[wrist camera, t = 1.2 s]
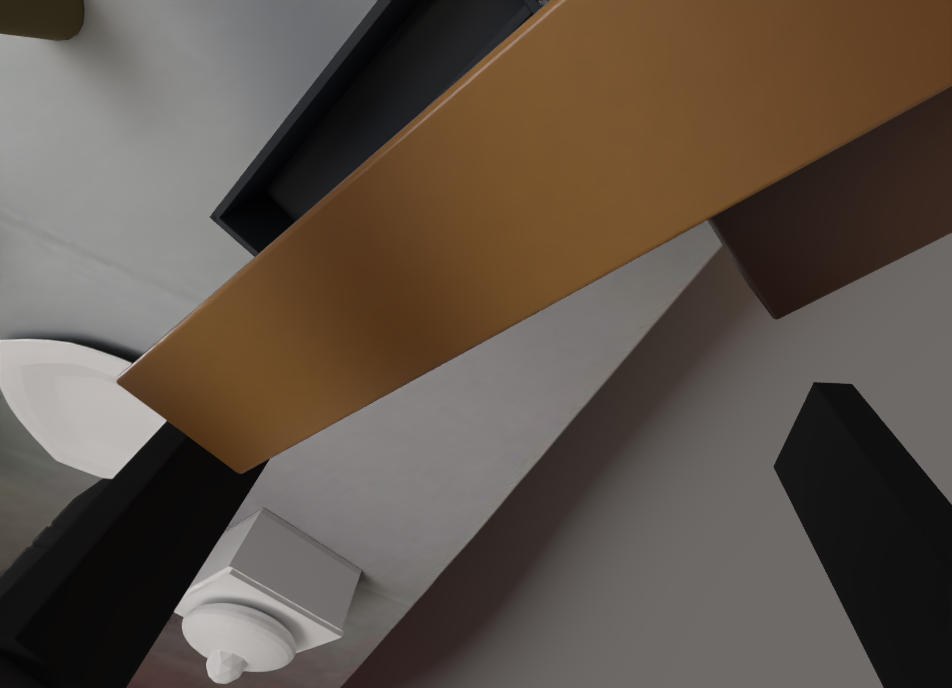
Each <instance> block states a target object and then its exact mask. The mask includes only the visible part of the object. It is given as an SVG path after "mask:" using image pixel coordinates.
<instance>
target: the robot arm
mask: <svg viewBox="0 0 952 688" xmlns="http://www.w3.org/2000/svg"><path fill="white" fill-rule="evenodd" d="M268 461H269V459H268V460H266V461H265V462H263V463H261V464H259V465H257V466H255V467H254V468H252V469H250V470H248V471H246V472H244V473H243V474H240V473H237V472H236V471H234V470H233V469H232V468H230V467H229V466H228V465H226V464H225V463H223V462H222V461H221V460H219V459H218V458H217V457H215V456H214V455H213V454H211V453H210V452H209V451H207V450H206V449H205V448H203V447H202V446H201V445H199V444H198V443H196V442H195V441H194V440H192V439H191V438H190V437H188V436H187V435H186V434H184V433H183V432H182V431H180V430H179V429H178V428H176V427H175V426H174V425H172V424H171V423H170V422H168V421H166V422H165V423H164V424H163V425H162V427H161V428H160V429H159V430H158V431H157V432H156V433H155V434H154V435H153V436H152V437H151V438H150V439H149V440H148V441H147V442H146V443H145V445H144V446H143V447H142V448H141V449H140V450H139V451H138V452H137V453H136V454H135V455H134V456H133V457H132V458H131V459H130V460H129V462H128V463H127V464H126V465H125V466H124V467H123V468H122V469H121V470H120V471H119V472H118V473H117V474H116V475H115V476H114V477H113V479H109V478H103V479H102V480H100V481H99V482H97V483H96V484H95V485H93V486H92V487H90V488H89V489H87V490H86V491H84V492H83V493H81V494H80V495H78V496H77V497H76V498H74V499H73V500H72V501H71V502H70V503H69V504H68V505H67V507H66V508H65V509H64V510H63V511H62V512H61V513H60V514H59V515H58V516H57V517H56V518H55V519H54V520H53V521H52V525H51V526H50V527H46V528H45V529H44V530H43V531H42V532H41V533H40V534H39V535H38V536H37V537H36V538H35V539H34V540H33V541H32V545H31V546H30V547H26V548H25V549H24V550H23V551H22V552H21V553H20V554H19V555H18V556H17V557H16V558H15V559H14V560H13V561H12V563H11V564H10V565H9V566H8V567H7V568H6V569H5V570H4V571H3V572H2V573H1V574H0V688H126V687H127V685H128V684H129V682H130V681H131V679H132V677H133V676H134V674H135V673H136V671H137V669H138V668H139V666H140V665H141V663H142V661H143V660H144V658H145V657H146V655H147V653H148V652H149V650H150V649H151V647H152V646H153V644H154V642H155V641H156V639H157V638H158V636H159V634H160V633H161V631H162V630H163V628H164V626H165V625H166V623H167V622H168V620H169V618H170V617H171V615H172V614H173V612H174V611H175V609H176V607H177V606H178V604H179V603H180V601H181V599H182V598H183V596H184V595H185V593H186V591H187V590H188V588H189V587H190V585H191V583H192V582H193V580H194V579H195V577H196V576H197V574H198V572H199V571H200V569H201V568H202V566H203V564H204V563H205V561H206V560H207V558H208V556H209V555H210V553H211V552H212V550H213V548H214V547H215V545H216V544H217V542H218V541H219V539H220V537H221V536H222V534H223V533H224V531H225V529H226V528H227V526H228V525H229V523H230V521H231V520H232V518H233V517H234V515H235V513H236V512H237V510H238V509H239V507H240V506H241V504H242V502H243V501H244V499H245V498H246V496H247V494H248V493H249V491H250V490H251V488H252V486H253V485H254V483H255V482H256V480H257V479H258V477H259V475H260V474H261V472H262V471H263V469H264V467H265V466H266V464H267V463H268ZM774 469H775V471H776V473H777V475H778V477H779V479H780V481H781V483H782V485H783V487H784V489H785V491H786V493H787V495H788V497H789V499H790V501H791V503H792V505H793V507H794V509H795V511H796V513H797V515H798V517H799V519H800V521H801V523H802V525H803V527H804V529H805V531H806V533H807V535H808V537H809V539H810V541H811V543H812V545H813V547H814V549H815V551H816V553H817V555H818V557H819V559H820V561H821V563H822V565H823V567H824V569H825V571H826V573H827V575H828V577H829V579H830V581H831V583H832V585H833V587H834V589H835V591H836V593H837V595H838V597H839V599H840V601H841V603H842V605H843V607H844V609H845V611H846V613H847V615H848V617H849V619H850V621H851V623H852V625H853V627H854V629H855V631H856V633H857V635H858V637H859V639H860V641H861V643H862V645H863V647H864V649H865V651H866V653H867V655H868V657H869V659H870V661H871V663H872V665H873V667H874V669H875V671H876V673H877V675H878V677H879V679H880V681H881V683H882V685H883V687H884V688H952V505H951V503H950V502H949V501H948V500H947V499H946V497H945V496H944V495H943V494H942V492H941V491H940V490H939V489H938V488H937V486H936V485H935V484H934V483H933V482H932V481H931V479H930V478H929V477H928V476H927V474H926V473H925V472H924V471H923V469H921V467H920V466H919V465H918V463H917V462H916V461H915V460H914V459H913V457H912V456H911V455H910V454H909V452H907V450H906V449H905V448H904V446H903V445H902V444H901V443H900V442H899V440H898V439H897V438H896V437H895V436H894V434H893V433H892V432H891V431H890V430H889V428H888V427H887V426H886V425H885V423H884V422H883V421H882V420H881V419H880V417H879V416H878V415H877V414H876V412H875V411H874V410H873V409H872V408H871V406H870V405H869V404H868V403H867V402H866V401H865V399H864V398H863V397H862V396H861V394H860V393H859V392H858V391H857V389H856V388H855V387H854V386H853V385H852V384H840V383H817V382H814V383H813V385H812V387H811V389H810V392H809V394H808V396H807V398H806V400H805V402H804V404H803V406H802V408H801V410H800V412H799V414H798V416H797V419H796V421H795V423H794V425H793V427H792V429H791V431H790V433H789V435H788V438H787V440H786V442H785V444H784V446H783V448H782V450H781V452H780V454H779V456H778V458H777V460H776V462H775V465H774Z"/></svg>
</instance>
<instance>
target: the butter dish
mask: <svg viewBox="0 0 952 688" xmlns="http://www.w3.org/2000/svg"><path fill="white" fill-rule="evenodd" d="M361 571H362V570H360V569H359V568H357V567H355V566H354V565H352V564H351V563H349V562H348V561H346V560H345V559H343V558H341V557H340V556H338V555H337V554H335V553H334V552H332V551H331V550H329V549H327V548H326V547H324V546H323V545H321V544H320V543H318V542H316V541H315V540H313V539H312V538H310V537H309V536H307V535H306V534H304V533H302V532H301V531H299V530H298V529H296V528H295V527H293V526H292V525H290V524H288V523H287V522H285V521H284V520H282V519H281V518H279V517H278V516H276V515H274V514H273V513H271V512H270V511H268V510H267V509H265V508H264V507H263V508H262V509H260V510H258V511H257V512H255V513H254V514H252V515H251V516H249V517H248V518H246V519H245V520H243V521H241V522H240V523H238V524H237V525H235V526H234V527H232V528H231V529H229V530H227V531H226V532H224V533H223V534H222V536H221V537H220V539H219V541H218V542H217V544H216V545H215V547H214V548H213V550H212V552H211V553H210V555H209V556H208V558H207V560H206V561H205V563H204V564H203V566H202V568H201V569H200V571H199V572H198V574H197V576H196V577H195V579H194V580H193V582H192V583H191V585H190V587H189V588H188V590H187V591H186V593H185V595H184V596H183V598H182V599H181V601H180V603H179V604H178V606H177V607H176V609H175V611H174V612H175V613H177V614H179V615H181V616H182V617H184V619H183V622H182V631H183V634H184V636H185V638H186V640H187V641H188V643H189V644H190V645H191V646H192V647H193V648H194V649H195V650H197V651H198V652H199V653H200V654H202V655H203V656H205V657H206V658H208V660H207V663H206V667H207V671H208V676H209V677H210V678H211V679H212V680H213V681H214V682H216V683H221V684H227V683H229V682H231V681H233V680H235V679H237V678H239V677H240V675H241V674H242V672H243V671H250V672H264V671H272V670H276V669H280V668H282V667H284V666H286V665H287V664H289V663H290V662H291V661H292V660H293V658H294V657H295V654H296V653H299V652H301V651H304V650H307V649H310V648H313V647H316V646H319V645H322V644H324V643H327V642H330V641H333V640H336V639H339V638H342V636H343V633H344V631H343V630H342V627H343V624H344V621H345V618H346V615H347V612H348V609H349V607H350V604H351V601H352V598H353V595H354V592H355V589H356V586H357V583H358V580H359V577H360V574H361Z"/></svg>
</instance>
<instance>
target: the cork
mask: <svg viewBox="0 0 952 688" xmlns="http://www.w3.org/2000/svg"><path fill="white" fill-rule="evenodd" d="M83 14H84V7H83V2H82V0H0V34H8V35H16V36H24V37H32V38H40V39H48V40H56V41H57V40H69V39H70V38H72V37H73V36H75V35H76V34H77V33H78V31H79V30H80V28H81V26H82V24H83Z"/></svg>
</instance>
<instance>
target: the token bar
mask: <svg viewBox="0 0 952 688" xmlns="http://www.w3.org/2000/svg"><path fill="white" fill-rule="evenodd" d="M951 86H952V0H550V1H549V2H548V3H546V4H545V5H544V6H543V7H542V8H541V9H539V10H538V11H537V12H536V13H535V14H534V15H533V16H531V17H530V18H529V19H528V20H527V21H526V22H525V23H523V24H522V25H521V26H520V27H519V28H518V29H516V30H515V31H514V32H513V33H512V34H511V35H510V36H508V37H507V38H506V39H505V40H504V41H503V42H502V43H500V44H499V45H498V46H497V47H496V48H495V49H493V50H492V51H491V52H490V53H489V54H488V55H487V56H485V57H484V58H483V59H482V60H481V61H480V62H479V63H477V64H476V65H475V66H474V67H473V68H472V69H470V70H469V71H468V72H467V73H466V74H465V75H464V76H462V77H461V78H460V79H459V80H458V81H457V82H456V83H454V84H453V85H452V86H451V87H450V88H449V89H448V90H446V91H445V92H444V93H443V94H442V95H441V96H439V97H438V98H437V99H436V100H435V101H434V102H433V103H431V104H430V105H429V106H428V107H427V108H426V109H425V110H423V111H422V112H421V113H420V114H419V115H418V116H416V117H415V118H414V119H413V120H412V121H411V122H410V123H408V124H407V125H406V126H405V127H404V128H403V129H402V130H400V131H399V132H398V133H397V134H396V135H395V136H393V137H392V138H391V139H390V140H389V141H388V142H387V143H385V144H384V145H383V146H382V147H381V148H380V149H379V150H377V151H376V152H375V153H374V154H373V155H372V156H371V157H369V158H368V159H367V160H366V161H365V162H364V163H362V164H361V165H360V166H359V167H358V168H357V169H356V170H354V171H353V172H352V173H351V174H350V175H349V176H348V177H346V178H345V179H344V180H343V181H342V182H341V183H339V184H338V185H337V186H336V187H335V188H334V189H333V190H331V191H330V192H329V193H328V194H327V195H326V196H325V197H323V198H322V199H321V200H320V201H319V202H318V203H316V204H315V205H314V206H313V207H312V208H311V209H310V210H308V211H307V212H306V213H305V214H304V215H303V216H302V217H300V218H299V219H298V220H297V221H296V222H295V223H294V224H292V225H291V226H290V227H289V228H288V229H287V230H285V231H284V232H283V233H282V234H281V235H280V236H279V237H277V238H276V239H275V240H274V241H273V242H272V243H271V244H269V245H268V246H267V247H266V248H265V249H264V250H262V251H261V252H260V253H259V254H258V255H257V256H256V257H254V258H253V259H252V260H251V261H250V262H249V263H248V264H246V265H245V266H244V267H243V268H242V269H241V270H239V271H238V272H237V273H236V274H235V275H234V276H233V277H231V278H230V279H229V280H228V281H227V282H226V283H225V284H223V285H222V286H221V287H220V288H219V289H218V290H217V291H215V292H214V293H213V294H212V295H211V296H210V297H208V298H207V299H206V300H205V301H204V302H203V303H202V304H200V305H199V306H198V307H197V308H196V309H195V310H194V311H192V312H191V313H190V314H189V315H188V316H187V317H185V318H184V319H183V320H182V321H181V322H180V323H179V324H177V325H176V326H175V327H174V328H173V329H172V330H171V331H169V332H168V333H167V334H166V335H165V336H164V337H162V338H161V339H160V340H159V341H158V342H157V343H156V344H154V345H153V346H152V347H151V348H150V349H149V350H148V351H146V352H145V353H144V354H143V355H142V356H141V357H139V358H138V359H137V360H136V361H135V362H134V363H133V364H131V365H130V366H129V367H128V368H127V369H126V370H125V371H123V372H122V373H121V374H120V375H119V376H118V377H117V380H116V382H117V384H118V385H120V386H121V387H122V388H124V389H125V390H126V391H128V392H129V393H130V394H132V395H133V396H134V397H136V398H137V399H138V400H140V401H141V402H143V403H144V404H145V405H147V406H148V407H149V408H151V409H152V410H153V411H155V412H156V413H157V414H159V415H160V416H161V417H163V418H164V419H165V420H167V421H168V422H170V423H171V424H172V425H174V426H175V427H176V428H178V429H179V430H180V431H182V432H183V433H184V434H186V435H187V436H188V437H190V438H191V439H192V440H194V441H195V442H196V443H198V444H199V445H201V446H202V447H203V448H205V449H206V450H207V451H209V452H210V453H211V454H213V455H214V456H215V457H217V458H218V459H219V460H221V461H222V462H223V463H225V464H226V465H228V466H229V467H230V468H232V469H233V470H234V471H236V472H237V473H240V474H243V473H244V472H246V471H248V470H250V469H252V468H254V467H255V466H257V465H259V464H261V463H263V462H265V461H266V460H268V459H270V458H272V457H274V456H276V455H277V454H279V453H281V452H283V451H285V450H287V449H288V448H290V447H292V446H294V445H296V444H298V443H299V442H301V441H303V440H305V439H307V438H309V437H310V436H312V435H314V434H316V433H318V432H319V431H321V430H323V429H325V428H327V427H329V426H330V425H332V424H334V423H336V422H338V421H340V420H341V419H343V418H345V417H347V416H349V415H351V414H352V413H354V412H356V411H358V410H360V409H362V408H363V407H365V406H367V405H369V404H371V403H373V402H374V401H376V400H378V399H380V398H382V397H384V396H385V395H387V394H389V393H391V392H393V391H395V390H396V389H398V388H400V387H402V386H404V385H406V384H407V383H409V382H411V381H413V380H415V379H417V378H418V377H420V376H422V375H424V374H426V373H428V372H429V371H431V370H433V369H435V368H437V367H439V366H440V365H442V364H444V363H446V362H448V361H450V360H451V359H453V358H455V357H457V356H459V355H461V354H462V353H464V352H466V351H468V350H470V349H471V348H473V347H475V346H477V345H479V344H481V343H482V342H484V341H486V340H488V339H490V338H492V337H493V336H495V335H497V334H499V333H501V332H503V331H504V330H506V329H508V328H510V327H512V326H514V325H515V324H517V323H519V322H521V321H523V320H525V319H526V318H528V317H530V316H532V315H534V314H536V313H537V312H539V311H541V310H543V309H545V308H547V307H548V306H550V305H552V304H554V303H556V302H558V301H559V300H561V299H563V298H565V297H567V296H569V295H570V294H572V293H574V292H576V291H578V290H580V289H581V288H583V287H585V286H587V285H589V284H591V283H592V282H594V281H596V280H598V279H600V278H602V277H603V276H605V275H607V274H609V273H611V272H612V271H614V270H616V269H618V268H620V267H622V266H623V265H625V264H627V263H629V262H631V261H633V260H634V259H636V258H638V257H640V256H642V255H644V254H645V253H647V252H649V251H651V250H653V249H655V248H656V247H658V246H660V245H662V244H664V243H666V242H667V241H669V240H671V239H673V238H675V237H677V236H678V235H680V234H682V233H684V232H686V231H688V230H689V229H691V228H693V227H695V226H697V225H699V224H700V223H702V222H704V221H706V220H708V219H710V218H711V217H713V216H715V215H717V214H719V213H721V212H722V211H724V210H726V209H728V208H730V207H732V206H733V205H735V204H737V203H739V202H741V201H743V200H744V199H746V198H748V197H750V196H752V195H753V194H755V193H757V192H759V191H761V190H763V189H764V188H766V187H768V186H770V185H772V184H774V183H775V182H777V181H779V180H781V179H783V178H785V177H786V176H788V175H790V174H792V173H794V172H796V171H797V170H799V169H801V168H803V167H805V166H807V165H808V164H810V163H812V162H814V161H816V160H818V159H819V158H821V157H823V156H825V155H827V154H829V153H830V152H832V151H834V150H836V149H838V148H840V147H841V146H843V145H845V144H847V143H849V142H851V141H852V140H854V139H856V138H858V137H860V136H862V135H863V134H865V133H867V132H869V131H871V130H873V129H874V128H876V127H878V126H880V125H882V124H884V123H885V122H887V121H889V120H891V119H893V118H895V117H896V116H898V115H900V114H902V113H904V112H905V111H907V110H909V109H911V108H913V107H915V106H916V105H918V104H920V103H922V102H924V101H926V100H927V99H929V98H931V97H933V96H935V95H937V94H938V93H940V92H942V91H944V90H946V89H948V88H949V87H951Z"/></svg>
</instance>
